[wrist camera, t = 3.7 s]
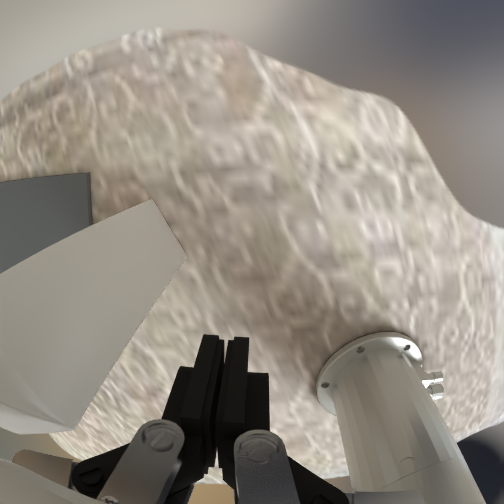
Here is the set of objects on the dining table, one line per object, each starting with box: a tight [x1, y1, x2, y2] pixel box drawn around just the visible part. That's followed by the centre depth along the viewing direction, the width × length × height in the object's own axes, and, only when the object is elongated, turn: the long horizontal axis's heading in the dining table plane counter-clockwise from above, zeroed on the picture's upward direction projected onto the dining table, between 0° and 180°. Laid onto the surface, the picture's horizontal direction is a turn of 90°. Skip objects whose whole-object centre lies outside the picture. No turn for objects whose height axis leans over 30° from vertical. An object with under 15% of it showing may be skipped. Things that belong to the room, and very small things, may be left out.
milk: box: [0, 199, 187, 434], centre depth 14 cm, size 6×6×22 cm
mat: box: [0, 173, 92, 274], centre depth 25 cm, size 24×13×1 cm, turn 87°
